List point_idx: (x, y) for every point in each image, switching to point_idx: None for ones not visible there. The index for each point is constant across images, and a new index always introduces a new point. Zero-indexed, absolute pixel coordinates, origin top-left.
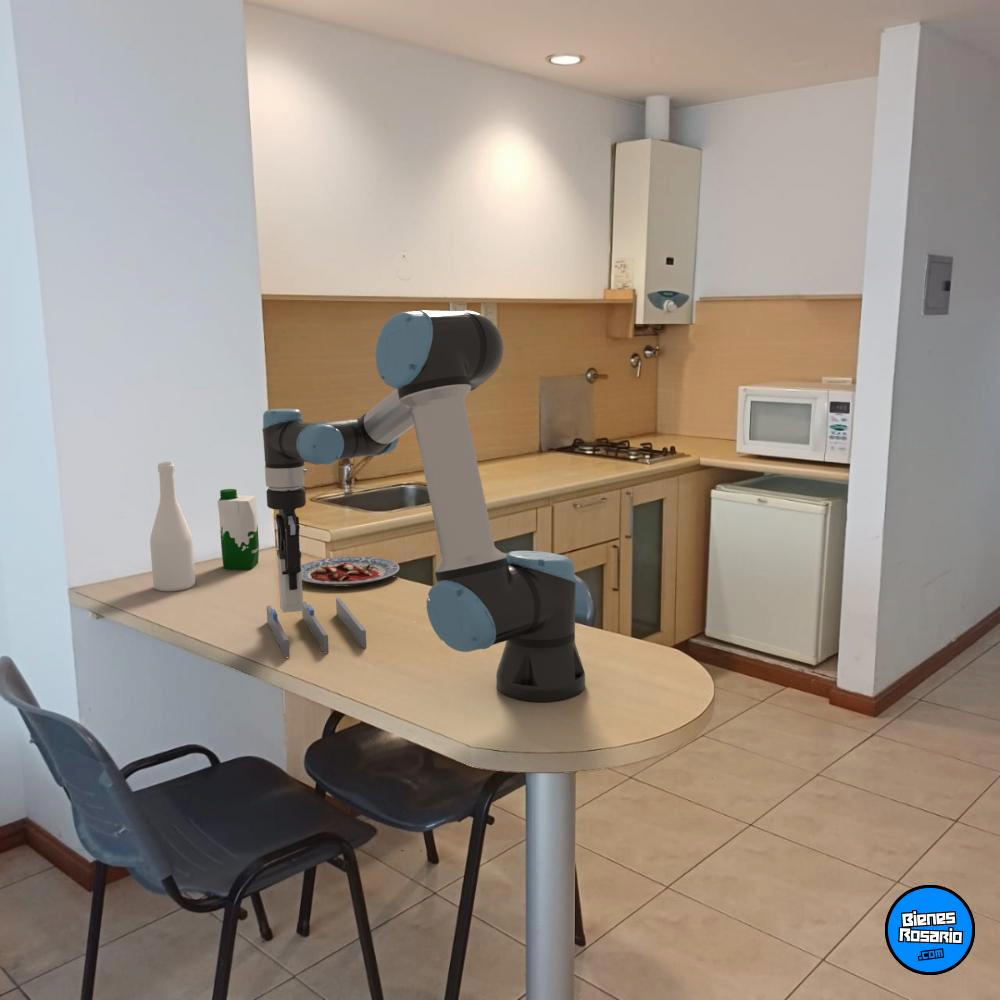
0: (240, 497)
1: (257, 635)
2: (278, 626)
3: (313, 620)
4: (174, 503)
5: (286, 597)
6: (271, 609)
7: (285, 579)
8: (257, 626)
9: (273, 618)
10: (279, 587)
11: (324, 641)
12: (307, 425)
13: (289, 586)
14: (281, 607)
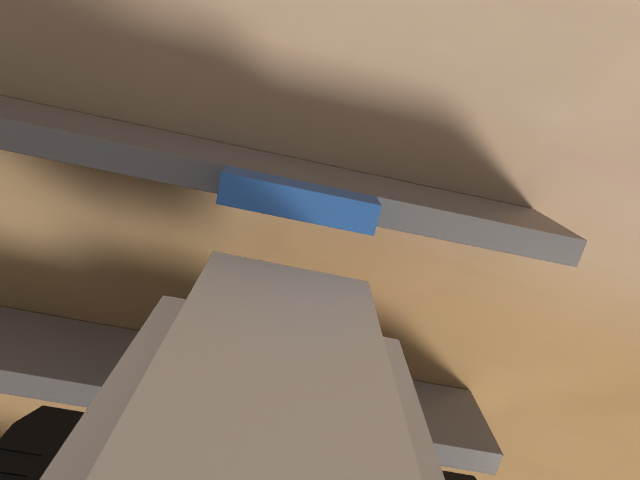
0: None
1: (322, 63)
2: (26, 132)
3: (66, 379)
4: None
5: (141, 333)
6: (366, 209)
7: (47, 474)
8: (498, 129)
9: (224, 166)
10: (366, 369)
11: None
12: None
13: (61, 436)
14: (294, 274)
